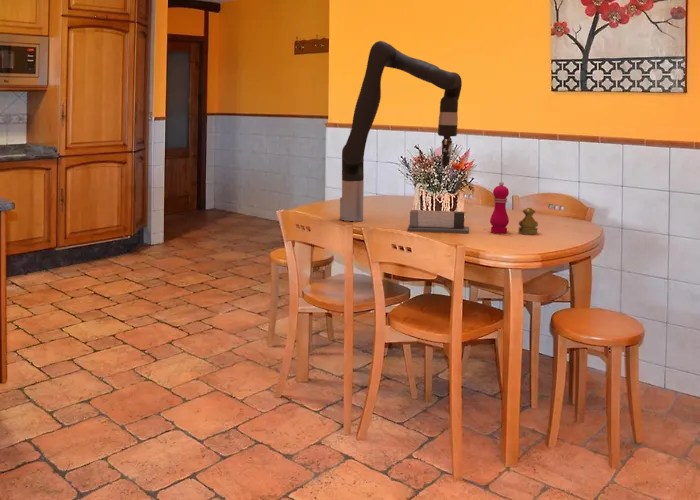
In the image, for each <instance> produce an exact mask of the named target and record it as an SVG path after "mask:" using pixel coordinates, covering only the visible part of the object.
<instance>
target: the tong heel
mask: <svg viewBox="0 0 700 500" xmlns="http://www.w3.org/2000/svg"><path fill="white" fill-rule="evenodd" d="M419 210H420V209H411V210H410V211H409V224H410V227H417V226H418V215H419Z"/></svg>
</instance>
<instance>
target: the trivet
mask: <svg viewBox="0 0 700 500" xmlns="http://www.w3.org/2000/svg"><path fill="white" fill-rule="evenodd" d="M407 232H413V233H415V232H416V233H444V234H462V235H463V234H464V235H465V234H467V235H469V234H470V226H465V225H464V228H445V227H418V226H417V227H410V223H409V224H408V227H407Z"/></svg>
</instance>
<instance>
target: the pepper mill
mask: <svg viewBox="0 0 700 500" xmlns="http://www.w3.org/2000/svg"><path fill="white" fill-rule="evenodd" d="M492 193H493V196H494V198H493V199H494V200H493V202H494V207H493V208H494V209H493V212H492V213H491V216H490V219H489V222H490V225H491V228H490V233H493V234H497V233H498V234H499V235H501V234H503V235H504V234H507V232H508V227H507V226H508V225H509V223H510V220H509V215H508V212H507V208H506V205H507V202H508V198H507V197H508V196H509V194H510V191H509V188H508V187H507V186H505V185H504V182H503V181H499V183H498V185H497V186H495V187H494V189H493V192H492Z"/></svg>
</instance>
